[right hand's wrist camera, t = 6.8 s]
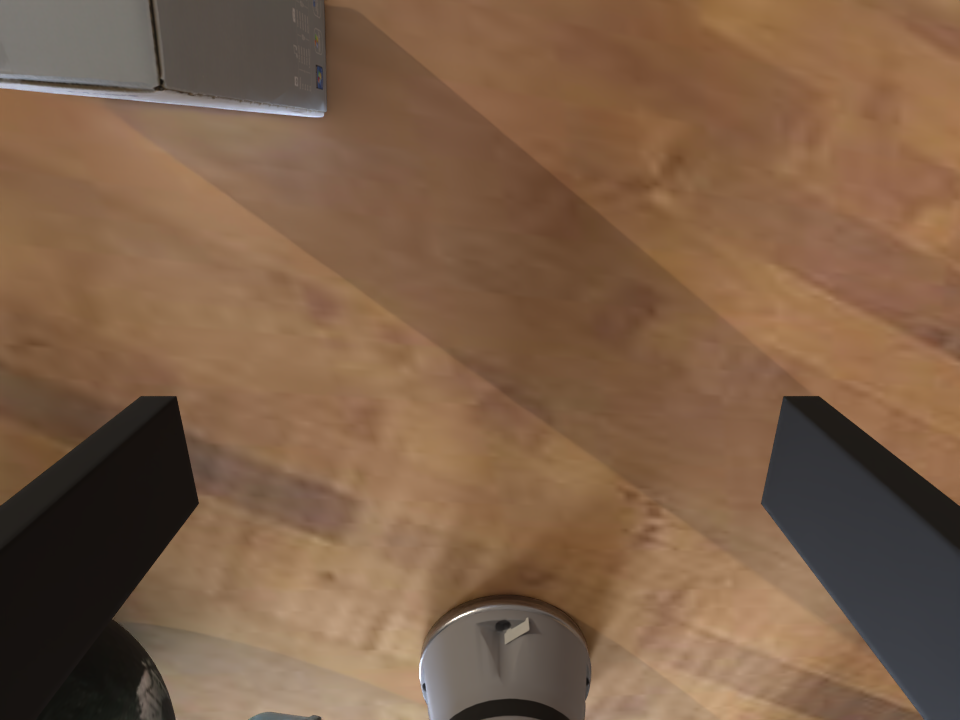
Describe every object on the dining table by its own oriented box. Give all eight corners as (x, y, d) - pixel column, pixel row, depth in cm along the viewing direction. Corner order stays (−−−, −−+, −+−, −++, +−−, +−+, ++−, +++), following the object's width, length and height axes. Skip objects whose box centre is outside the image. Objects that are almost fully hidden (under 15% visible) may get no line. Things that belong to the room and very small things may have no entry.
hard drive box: (326, -25, 34) (138, -215, 15) (329, 118, 37) (173, 105, 18) (53, -48, 33) (-482, -273, 15) (77, 98, 36) (-348, 63, 18)
